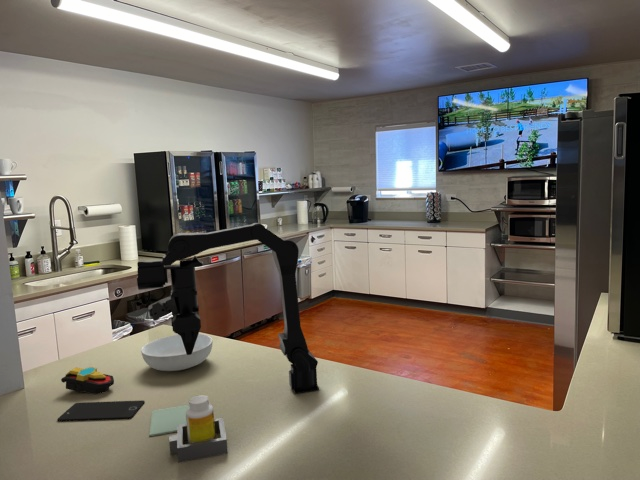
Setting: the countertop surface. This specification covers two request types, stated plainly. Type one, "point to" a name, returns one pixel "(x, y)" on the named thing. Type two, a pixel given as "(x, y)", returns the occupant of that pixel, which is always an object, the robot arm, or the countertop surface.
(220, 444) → the collar
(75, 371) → the gadget
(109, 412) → the cell phone
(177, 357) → the serving bowl
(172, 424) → the mat
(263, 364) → the countertop surface
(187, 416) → the supplement bottle
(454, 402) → the countertop surface
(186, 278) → the robot arm
